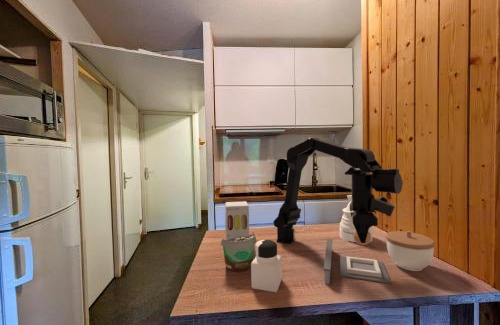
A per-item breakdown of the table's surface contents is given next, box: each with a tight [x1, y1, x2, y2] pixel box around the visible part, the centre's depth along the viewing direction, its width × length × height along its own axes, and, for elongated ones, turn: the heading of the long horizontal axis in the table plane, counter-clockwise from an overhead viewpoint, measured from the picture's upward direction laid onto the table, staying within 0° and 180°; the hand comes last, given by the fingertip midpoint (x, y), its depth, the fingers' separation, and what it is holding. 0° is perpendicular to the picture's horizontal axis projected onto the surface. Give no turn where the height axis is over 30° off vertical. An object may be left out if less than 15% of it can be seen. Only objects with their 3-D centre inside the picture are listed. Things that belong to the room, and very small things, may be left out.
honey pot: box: [339, 194, 373, 244], centre depth 99 cm, size 13×13×18 cm
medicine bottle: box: [250, 239, 283, 293], centre depth 65 cm, size 7×7×12 cm
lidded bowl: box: [385, 230, 435, 272], centre depth 73 cm, size 13×13×11 cm
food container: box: [220, 232, 258, 273], centre depth 74 cm, size 12×6×10 cm, turn 117°
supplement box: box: [224, 200, 250, 240], centre depth 95 cm, size 10×9×17 cm
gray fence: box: [323, 238, 333, 286], centre depth 75 cm, size 2×24×4 cm, turn 159°
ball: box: [353, 230, 372, 246], centre depth 72 cm, size 5×5×5 cm
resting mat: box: [339, 255, 392, 285], centre depth 72 cm, size 13×13×2 cm
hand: (362, 239), depth 72 cm, fingers closed on ball, 5 cm apart
